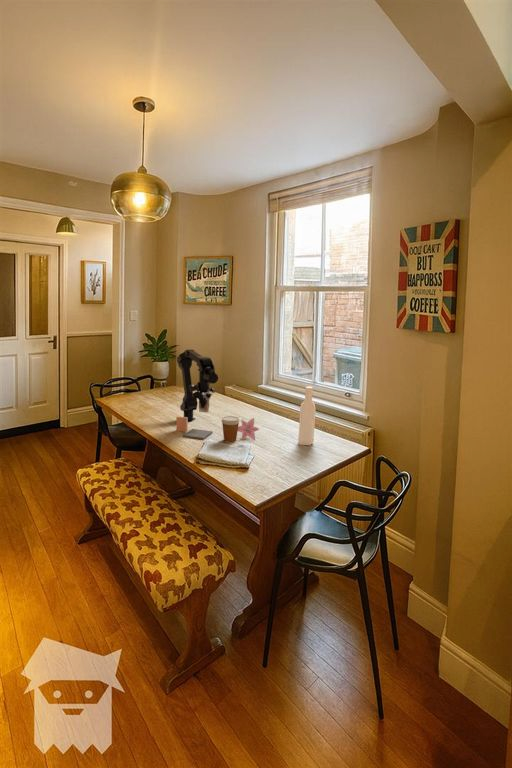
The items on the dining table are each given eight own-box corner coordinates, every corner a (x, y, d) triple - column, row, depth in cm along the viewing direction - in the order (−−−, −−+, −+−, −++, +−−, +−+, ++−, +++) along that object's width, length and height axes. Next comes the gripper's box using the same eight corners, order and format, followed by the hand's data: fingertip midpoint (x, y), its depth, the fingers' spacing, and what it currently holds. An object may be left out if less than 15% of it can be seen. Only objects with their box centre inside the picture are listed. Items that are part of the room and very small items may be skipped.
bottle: (303, 439, 226) (307, 384, 220) (316, 443, 221) (320, 387, 215) (295, 443, 220) (298, 387, 214) (307, 447, 215) (311, 389, 209)
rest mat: (192, 430, 235) (192, 428, 234) (212, 433, 231) (212, 431, 231) (183, 436, 223) (183, 435, 223) (204, 439, 220) (204, 437, 220)
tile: (177, 429, 235) (177, 416, 233) (187, 431, 233) (187, 417, 231) (176, 430, 233) (176, 416, 232) (186, 432, 232) (186, 418, 230)
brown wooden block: (200, 410, 239) (201, 396, 238) (209, 411, 238) (209, 397, 236) (198, 411, 236) (198, 398, 235) (207, 412, 235) (207, 399, 233)
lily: (231, 438, 226) (234, 426, 220) (241, 425, 235) (243, 413, 229) (251, 448, 224) (254, 436, 218) (260, 434, 232) (263, 422, 226)
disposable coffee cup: (217, 439, 221) (217, 417, 219) (232, 436, 227) (233, 415, 225) (227, 444, 214) (228, 422, 211) (242, 441, 219) (243, 419, 217)
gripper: (197, 375, 244) (197, 402, 248) (183, 381, 227) (183, 409, 230) (215, 377, 241) (215, 404, 245) (203, 383, 224) (202, 412, 227)
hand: (203, 407), depth 237 cm, fingers closed on brown wooden block, 3 cm apart
